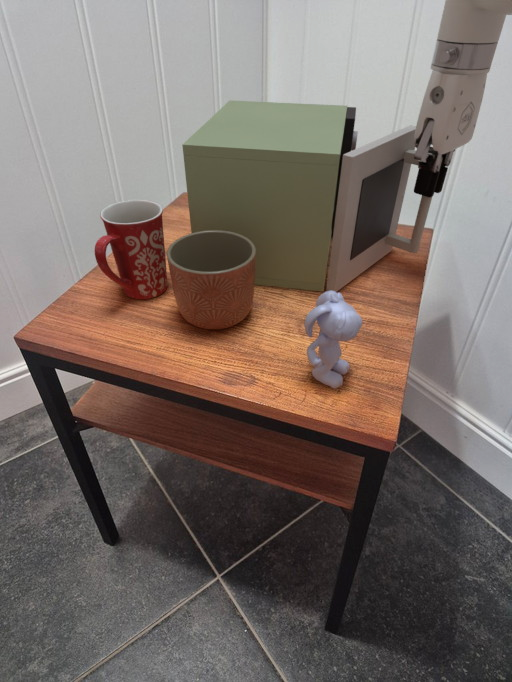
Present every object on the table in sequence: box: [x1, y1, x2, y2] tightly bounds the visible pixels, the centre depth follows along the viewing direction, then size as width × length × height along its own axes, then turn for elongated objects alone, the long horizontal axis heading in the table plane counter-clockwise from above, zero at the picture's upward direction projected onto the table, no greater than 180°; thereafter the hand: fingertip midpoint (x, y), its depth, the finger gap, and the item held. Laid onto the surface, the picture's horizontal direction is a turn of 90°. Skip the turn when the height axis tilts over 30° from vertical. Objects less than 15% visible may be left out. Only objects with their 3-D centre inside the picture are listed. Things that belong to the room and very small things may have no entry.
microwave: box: [182, 100, 359, 293], centre depth 77 cm, size 24×28×22 cm
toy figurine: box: [304, 290, 363, 389], centre depth 54 cm, size 7×6×12 cm
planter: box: [166, 230, 256, 330], centre depth 64 cm, size 12×12×11 cm
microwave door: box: [325, 124, 443, 293], centre depth 69 cm, size 7×20×22 cm, turn 138°
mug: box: [94, 199, 168, 300], centre depth 68 cm, size 13×9×14 cm
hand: (427, 191), depth 70 cm, fingers closed on microwave door
